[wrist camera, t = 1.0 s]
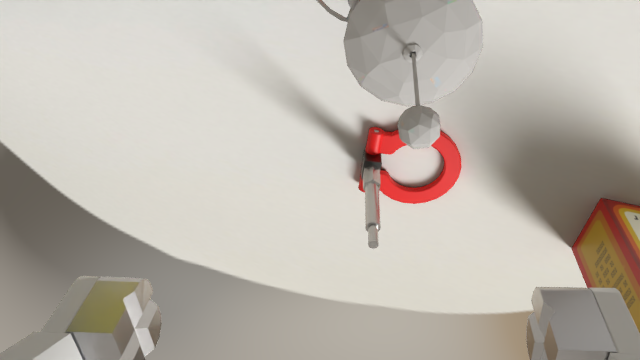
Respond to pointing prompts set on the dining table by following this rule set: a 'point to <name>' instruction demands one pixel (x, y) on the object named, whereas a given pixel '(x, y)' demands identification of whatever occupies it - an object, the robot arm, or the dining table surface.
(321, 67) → the dining table surface
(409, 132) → the french press
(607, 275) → the baking soda box
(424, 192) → the tow hook
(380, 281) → the dining table surface
